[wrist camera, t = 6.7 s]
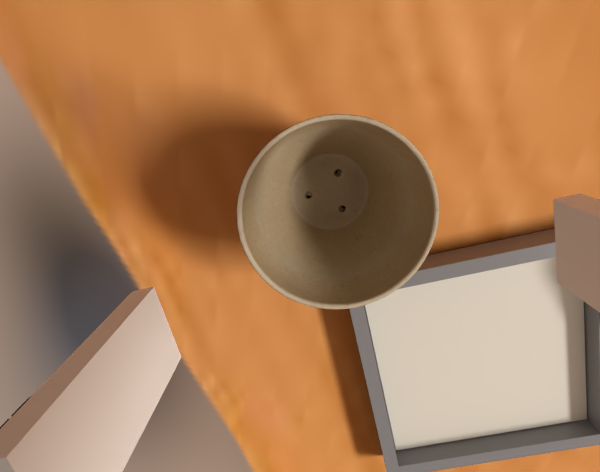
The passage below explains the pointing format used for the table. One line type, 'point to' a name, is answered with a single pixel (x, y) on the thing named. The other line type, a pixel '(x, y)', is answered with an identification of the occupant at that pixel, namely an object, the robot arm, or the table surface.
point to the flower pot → (337, 211)
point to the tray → (481, 359)
